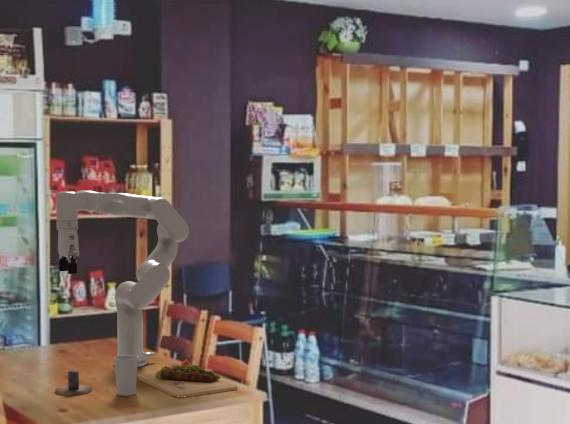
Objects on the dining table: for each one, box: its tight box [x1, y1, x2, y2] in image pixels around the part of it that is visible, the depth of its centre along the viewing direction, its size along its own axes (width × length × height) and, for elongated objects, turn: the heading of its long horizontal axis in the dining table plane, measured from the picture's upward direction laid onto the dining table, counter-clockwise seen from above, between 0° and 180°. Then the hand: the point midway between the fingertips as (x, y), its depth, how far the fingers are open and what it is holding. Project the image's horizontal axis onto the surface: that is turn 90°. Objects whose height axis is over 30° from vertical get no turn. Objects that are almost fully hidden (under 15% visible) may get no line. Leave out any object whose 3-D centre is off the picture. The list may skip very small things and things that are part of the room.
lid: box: [54, 369, 93, 397], centre depth 309 cm, size 12×12×7 cm
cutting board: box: [137, 358, 238, 398], centre depth 320 cm, size 35×23×8 cm
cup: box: [113, 355, 139, 396], centre depth 306 cm, size 8×8×12 cm
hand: (67, 272), depth 335 cm, fingers open, 9 cm apart
